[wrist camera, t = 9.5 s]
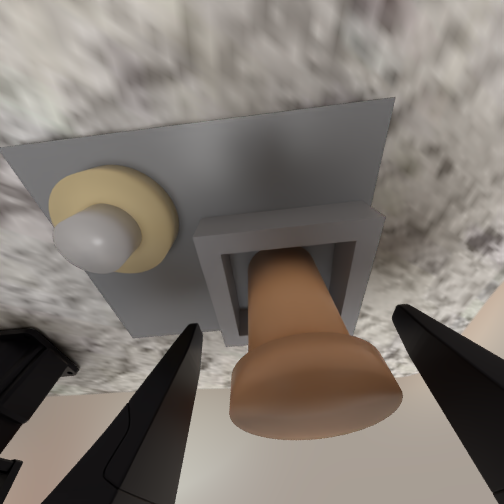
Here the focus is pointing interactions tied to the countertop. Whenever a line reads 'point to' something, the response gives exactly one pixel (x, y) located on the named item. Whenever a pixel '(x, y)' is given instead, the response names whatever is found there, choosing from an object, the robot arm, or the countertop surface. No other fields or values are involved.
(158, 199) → the housing
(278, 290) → the tan flared peg
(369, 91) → the countertop surface
